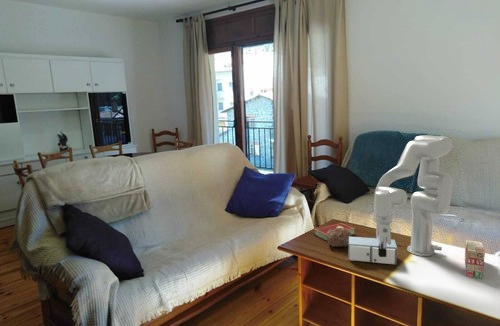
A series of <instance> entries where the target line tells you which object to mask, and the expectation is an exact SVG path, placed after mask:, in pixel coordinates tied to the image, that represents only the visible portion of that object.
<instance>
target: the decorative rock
mask: <svg viewBox="0 0 500 326" xmlns="http://www.w3.org/2000/svg"><path fill="white" fill-rule="evenodd" d="M326 235H327V237H328V241H327V243H328V244H329V246H331V247H333V248H334V247H336V248H340V247H347V246H349V237H353V236H352V235H351V233H350V231H349V230H348V229H345V228H343V229H342V228H341V229H331V230H328V232H327V234H326Z"/></svg>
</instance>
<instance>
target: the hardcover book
mask: <svg viewBox="0 0 500 326" xmlns="http://www.w3.org/2000/svg"><path fill="white" fill-rule="evenodd" d="M341 228H342V229H343V228H345V229H348V230H349V231H350V233H351V236H352V235H355V230H356V228H354V227H352V226H350V225H348V224H345V223H342V222H341V223H336V224H331V225H328V226H327V225H326V226H324V227H319V228H314V229H313V234H314V236H317V237H318V238H320V239H323V240H324V241H327V242H328V237H327V235H326V234H327V232H328V230H331V229H341Z"/></svg>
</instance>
